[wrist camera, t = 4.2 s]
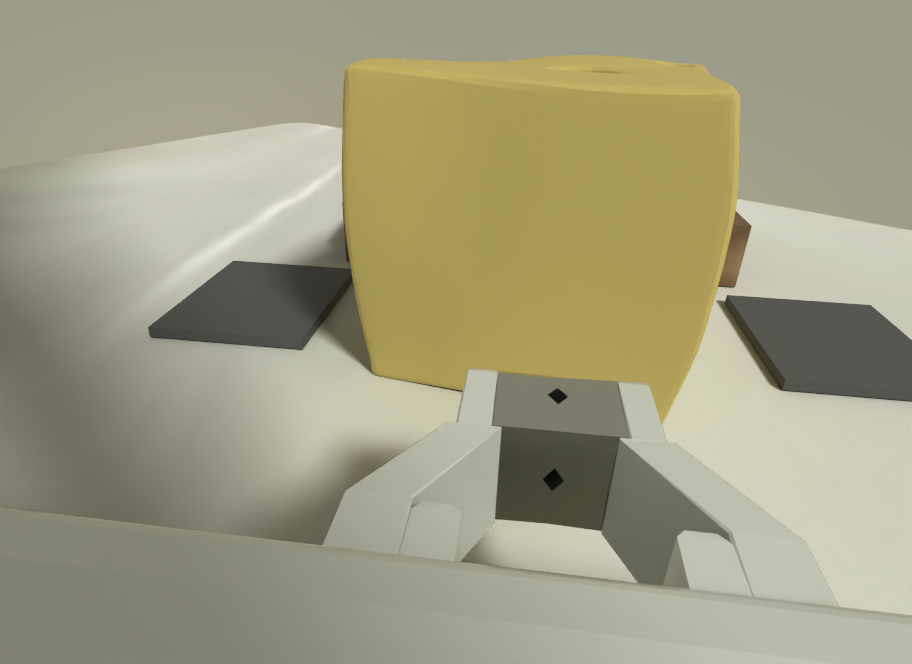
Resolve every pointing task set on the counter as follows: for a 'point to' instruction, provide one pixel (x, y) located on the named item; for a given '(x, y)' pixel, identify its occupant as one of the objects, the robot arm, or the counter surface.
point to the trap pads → (762, 319)
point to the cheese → (538, 215)
